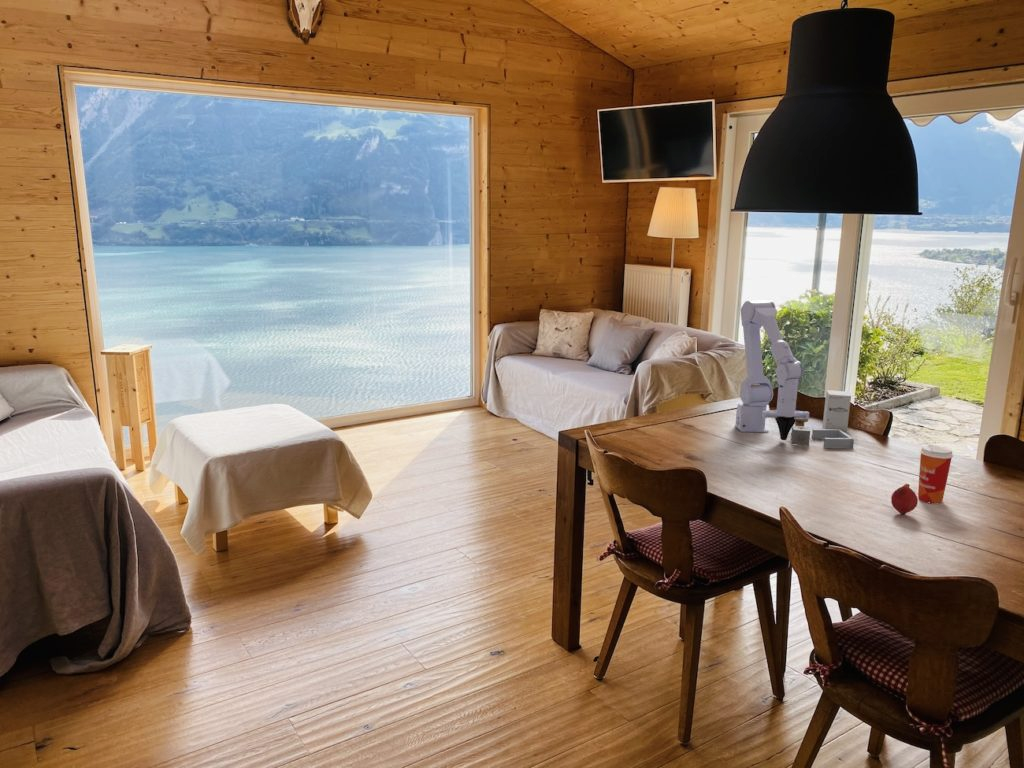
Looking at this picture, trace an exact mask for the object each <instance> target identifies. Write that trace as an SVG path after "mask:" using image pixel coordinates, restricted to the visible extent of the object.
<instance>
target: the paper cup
mask: <svg viewBox="0 0 1024 768" xmlns="http://www.w3.org/2000/svg"><path fill="white" fill-rule="evenodd" d="M919 453H920V458H919V473H918V474H919V475H918V477H919V478H918V489H917V490H918V492H917V499H918V498H919V499H920V500H919V499H918V500H919V501H921V500H922V501H921V502H923V501H925V502H924V503H926V502H930V503H929V504H931V503H940V502H942V503H943V500H944V496H945V492H946V487H947V486H946V485H947V482H948V477H949V472H950V466H951V463H952V458H953V457H954V454H953V450H952V449H951V448H949V447H946V446H943V445H936V444H935V445H934V444H932V445H931V444H929V445H925V444H924V445H922V446H921V449H920V450H919ZM940 504H941V503H940Z"/></svg>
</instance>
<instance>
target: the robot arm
mask: <svg viewBox="0 0 1024 768" xmlns="http://www.w3.org/2000/svg"><path fill="white" fill-rule="evenodd" d="M777 313H778V311H777V308H776V304H775V302H774V301H773V300H770V299H767V300H746V301H744V302H743V304H742V306H741V308H740V320H741V326H742V328H743V329H742V330H743V331H742V332H743V339H744V340H743V341H744V351H745V362H746V363H745V364H746V365H745V366H746V375H747V376H746V377H745V378H743V380H742V381H741V382H740V391H739V398H740V400H741V402H742V403H739V404H737V406H736V412H735V413H736V414H735V424H734V426H735V427H736V428H737V429H738V431H740V432H743V433H744V432H745V433H752V432H753V433H768V432H769V430H768V429H767V428H766V419H768V418H769V419H770V418H772V419H773V418H774V419H775V421H776V424H777V428H778V431H779V432H778V433H779V438H780V440H781V441H787V439H788V436H789V434H790V433H791V431H792V426H795V422H796V420H795V419H794V418H806V419H808V420H809V419H810V412H809V411H803V410H797V409H796V408H797V398H798V386H799V380H800V379H801V378H802V377H803V374H804V367H803V364H802V363H801V362H800V361H799V360H798V359H797V358H795V357H794V356H795V355H794V354H793V352H792V349H791V348H790V344H789V343H788V341H785V340H783V338H782V335H781V331H780V329H779V328H780V327H779V324H778V321H777V319H776V317H777ZM762 327H763V330H764V332H765V334H766V336H767V337H768V339H769V341H770V344H771V346H770V349H769V350H770V352H771V355H772V357H773V359H774V361H775V364H776V366H777V367H776V369H775V374H776V378H777V380H776V383H777V384H778V390H777V399H776V400H777V403H776V409H772V410H767V406H768V405H769V404H770V402H771V401H772V399H774V398H773V397H774V388H773V386H772V384H771V383H772V382H771V380H770V379H769V378H768V377H767V376H765V374H764V366H763V365H764V363H763V353H762V351H763V350H762V342H761V331H760V330H761V328H762ZM753 384H754V385H753Z"/></svg>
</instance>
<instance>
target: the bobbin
mask: <svg viewBox="0 0 1024 768" xmlns="http://www.w3.org/2000/svg"><path fill="white" fill-rule="evenodd" d="M794 419H795V420H796V421H795V424H794V426H802V427H805V423H808V422H809V419H806V418H794ZM791 433H792V431H790V434H791Z"/></svg>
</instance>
